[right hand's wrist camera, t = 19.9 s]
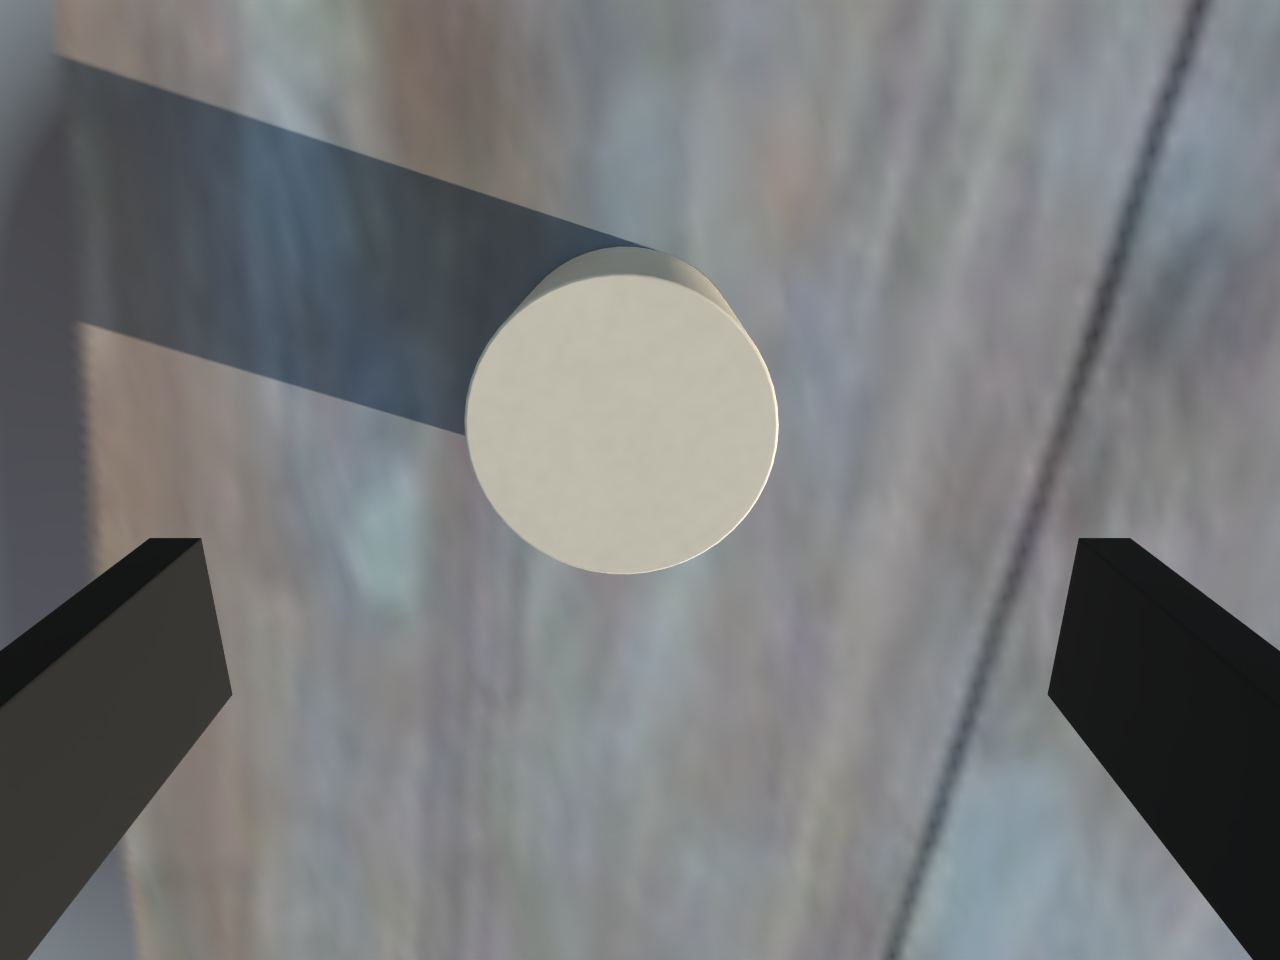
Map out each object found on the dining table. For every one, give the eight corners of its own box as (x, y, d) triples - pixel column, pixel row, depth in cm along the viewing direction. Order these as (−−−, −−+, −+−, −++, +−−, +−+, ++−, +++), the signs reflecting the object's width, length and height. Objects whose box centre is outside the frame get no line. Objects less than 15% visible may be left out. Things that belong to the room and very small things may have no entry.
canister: (634, 521, 29) (632, 629, 22) (459, 376, 27) (400, 443, 20) (793, 360, 27) (844, 423, 20) (616, 191, 25) (608, 199, 19)
